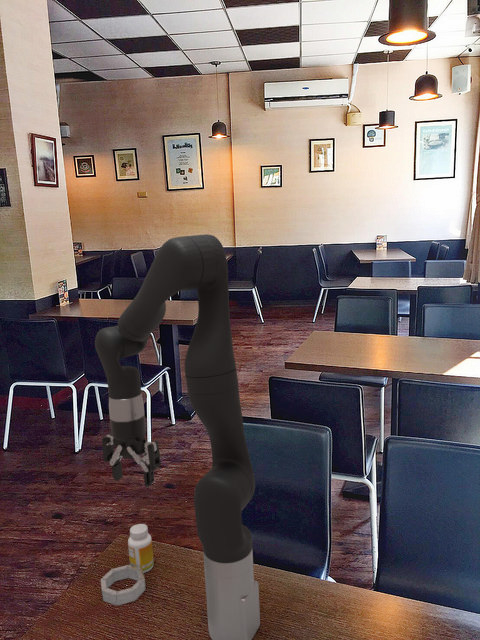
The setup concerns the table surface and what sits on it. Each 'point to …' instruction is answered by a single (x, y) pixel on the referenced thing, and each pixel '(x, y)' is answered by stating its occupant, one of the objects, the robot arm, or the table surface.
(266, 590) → the table surface
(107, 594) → the ring holder
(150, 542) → the supplement bottle
